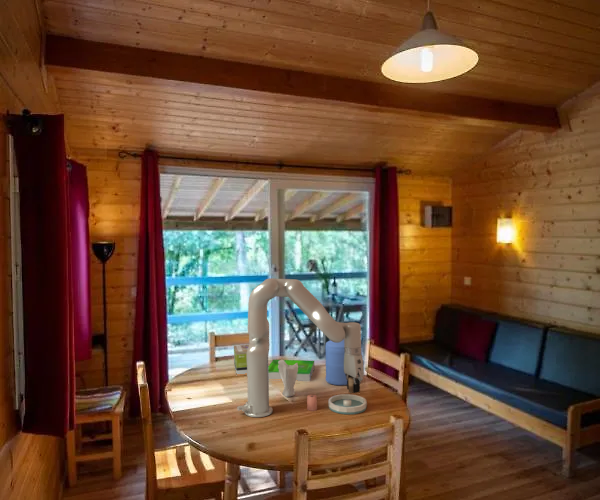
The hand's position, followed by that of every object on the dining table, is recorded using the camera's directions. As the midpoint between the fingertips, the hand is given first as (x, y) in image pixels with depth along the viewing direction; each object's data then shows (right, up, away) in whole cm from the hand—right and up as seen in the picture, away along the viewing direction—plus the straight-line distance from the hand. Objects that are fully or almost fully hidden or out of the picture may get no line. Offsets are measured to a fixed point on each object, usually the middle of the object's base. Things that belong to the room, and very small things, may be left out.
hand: (353, 390), depth 204 cm
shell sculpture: (-30, -9, +20) cm, 37 cm away
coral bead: (-19, -9, +3) cm, 21 cm away
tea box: (-57, -8, +60) cm, 83 cm away
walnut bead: (0, -1, 0) cm, 1 cm away
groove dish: (-2, -9, +5) cm, 10 cm away
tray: (-30, -9, +56) cm, 64 cm away
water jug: (-2, -8, +42) cm, 43 cm away
